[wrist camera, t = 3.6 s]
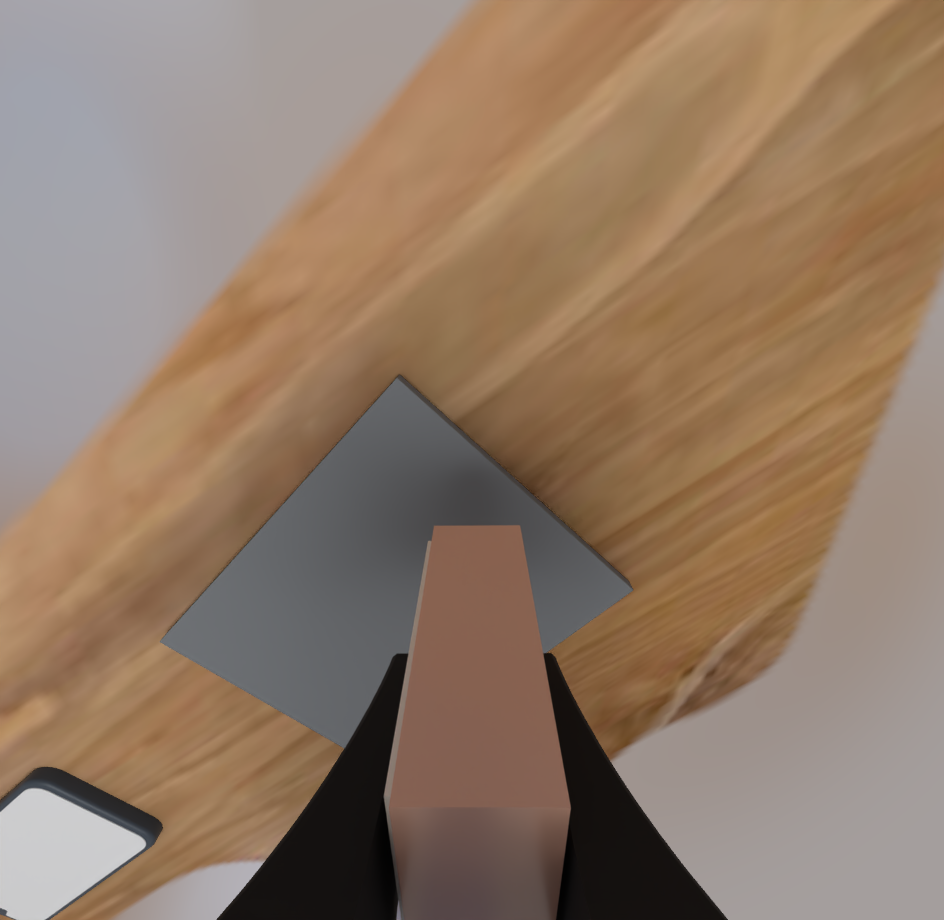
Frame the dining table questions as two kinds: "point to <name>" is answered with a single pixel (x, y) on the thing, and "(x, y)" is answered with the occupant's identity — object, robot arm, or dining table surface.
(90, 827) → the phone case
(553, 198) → the dining table surface
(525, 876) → the tile
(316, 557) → the mat
